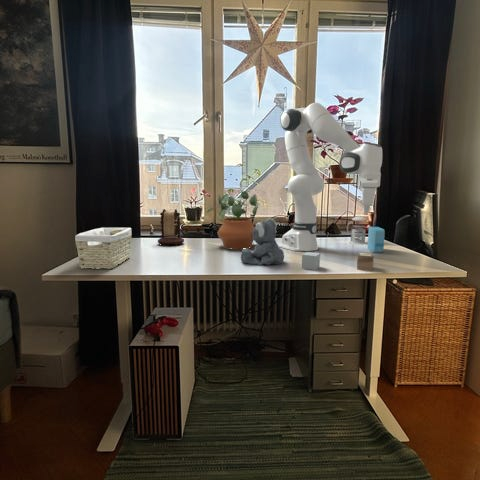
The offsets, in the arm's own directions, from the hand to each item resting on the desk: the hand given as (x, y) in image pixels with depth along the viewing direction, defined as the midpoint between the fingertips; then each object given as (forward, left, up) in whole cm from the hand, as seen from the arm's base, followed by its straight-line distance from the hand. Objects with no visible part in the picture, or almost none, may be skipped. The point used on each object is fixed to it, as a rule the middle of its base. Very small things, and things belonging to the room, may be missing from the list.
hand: (366, 214), depth 151 cm
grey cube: (-12, -22, -22) cm, 33 cm away
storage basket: (-77, -83, -22) cm, 115 cm away
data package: (-10, +31, -22) cm, 39 cm away
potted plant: (-68, -17, -22) cm, 73 cm away
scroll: (-97, -38, -22) cm, 106 cm away
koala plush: (-32, -29, -22) cm, 48 cm away
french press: (-28, +44, -22) cm, 57 cm away
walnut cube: (+4, -6, -16) cm, 18 cm away
